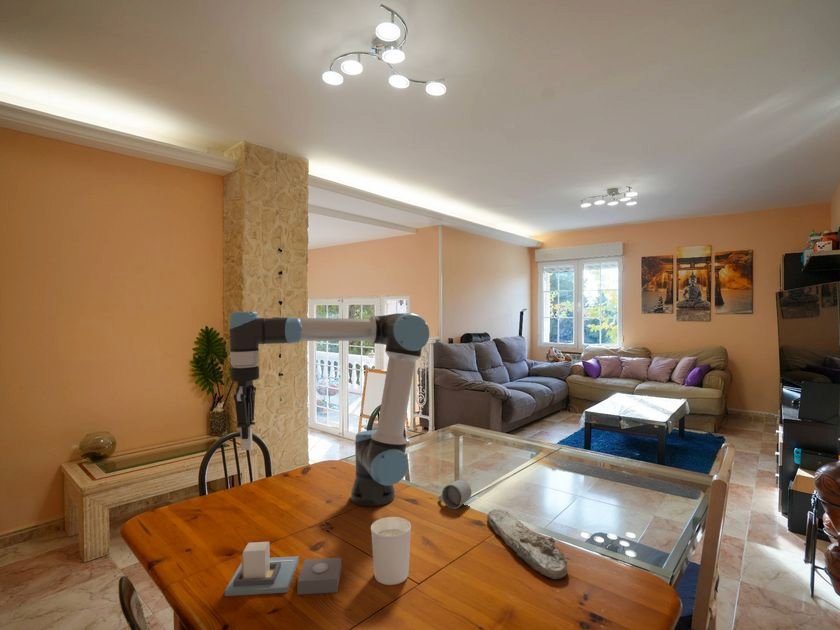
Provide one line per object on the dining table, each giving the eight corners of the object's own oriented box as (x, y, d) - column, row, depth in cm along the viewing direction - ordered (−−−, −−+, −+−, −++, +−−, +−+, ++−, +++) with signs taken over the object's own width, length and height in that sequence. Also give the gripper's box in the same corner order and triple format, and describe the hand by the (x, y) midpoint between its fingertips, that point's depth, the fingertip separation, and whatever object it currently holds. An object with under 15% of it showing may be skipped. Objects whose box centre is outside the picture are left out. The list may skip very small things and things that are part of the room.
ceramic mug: (473, 502, 148) (472, 479, 148) (462, 511, 141) (461, 487, 141) (446, 495, 154) (445, 474, 154) (433, 504, 147) (433, 481, 147)
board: (298, 560, 114) (298, 551, 114) (287, 592, 101) (287, 582, 101) (243, 563, 113) (243, 554, 113) (224, 596, 100) (224, 585, 100)
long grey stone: (507, 519, 139) (479, 526, 136) (506, 502, 139) (477, 509, 136) (580, 575, 105) (545, 586, 102) (578, 553, 106) (543, 563, 102)
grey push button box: (341, 569, 110) (341, 555, 110) (337, 592, 101) (337, 577, 101) (304, 571, 109) (304, 557, 109) (297, 594, 100) (297, 579, 100)
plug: (269, 570, 108) (269, 541, 108) (265, 579, 104) (265, 550, 104) (245, 571, 107) (245, 542, 107) (240, 581, 103) (239, 551, 103)
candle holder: (417, 567, 110) (416, 519, 110) (402, 590, 101) (402, 538, 101) (381, 560, 114) (380, 514, 114) (364, 583, 104) (363, 532, 104)
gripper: (238, 363, 130) (240, 443, 130) (223, 369, 117) (224, 457, 118) (264, 363, 131) (266, 441, 131) (251, 368, 118) (253, 456, 118)
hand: (246, 449), depth 124 cm, fingers closed
